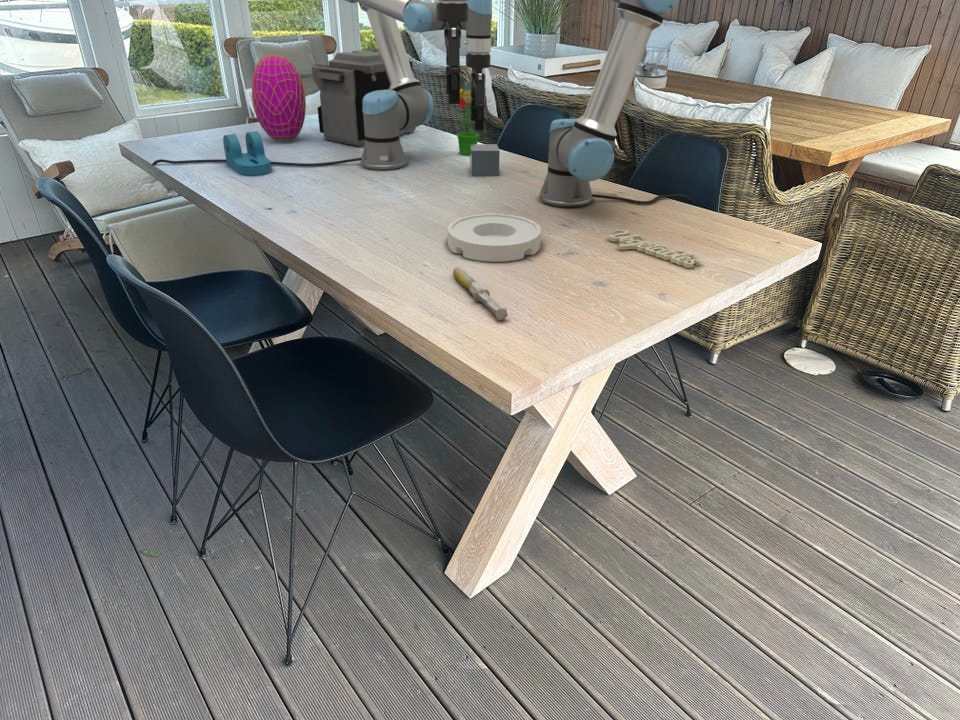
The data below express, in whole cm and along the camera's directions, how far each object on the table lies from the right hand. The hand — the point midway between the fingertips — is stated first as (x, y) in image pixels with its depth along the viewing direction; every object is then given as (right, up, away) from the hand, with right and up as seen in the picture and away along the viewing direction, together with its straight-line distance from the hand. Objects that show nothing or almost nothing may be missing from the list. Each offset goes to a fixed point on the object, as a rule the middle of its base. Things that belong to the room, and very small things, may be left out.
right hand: (453, 98), depth 170 cm
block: (+8, -2, +59) cm, 59 cm away
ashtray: (+10, -36, +1) cm, 37 cm away
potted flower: (+3, +11, +81) cm, 81 cm away
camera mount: (-70, -1, +59) cm, 91 cm away
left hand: (+6, +10, +49) cm, 51 cm away
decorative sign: (+48, -38, -1) cm, 62 cm away
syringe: (+6, -52, -25) cm, 58 cm away
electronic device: (-37, +24, +102) cm, 111 cm away
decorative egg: (-69, +20, +95) cm, 119 cm away
